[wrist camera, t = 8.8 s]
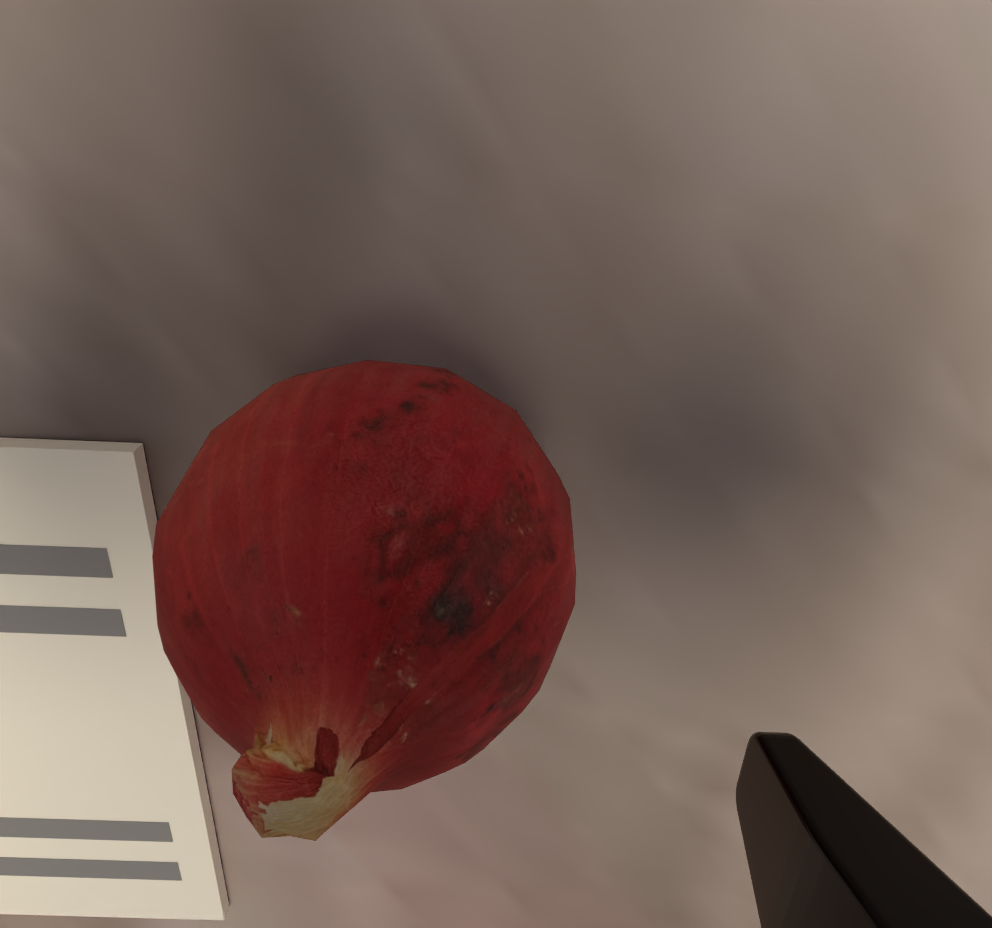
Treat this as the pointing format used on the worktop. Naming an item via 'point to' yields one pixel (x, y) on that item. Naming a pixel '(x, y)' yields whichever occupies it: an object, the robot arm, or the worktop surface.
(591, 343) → the worktop surface
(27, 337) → the worktop surface
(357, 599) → the onion
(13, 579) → the letter
